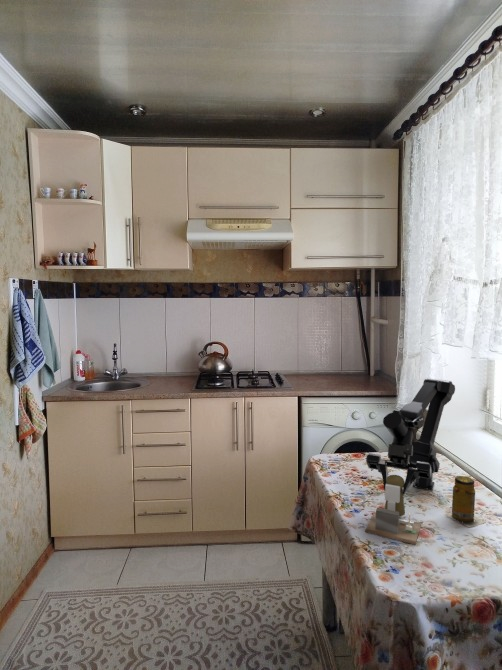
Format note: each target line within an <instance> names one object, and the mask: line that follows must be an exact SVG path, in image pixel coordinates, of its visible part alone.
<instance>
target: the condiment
mask: <svg viewBox="0 0 502 670" xmlns="http://www.w3.org/2000/svg"><path fill="white" fill-rule="evenodd" d="M451 503H452V504H451V512H450V513H445V514H444V515H445V516H446V517H448V518H451V519H452V520H454V521H456V522H458V523H460V524H462V525H463V526H466V527H468V528H473V527H476V526H479V525H482V524H485V523H486V521H484V520H482V519H481V518H478V517H477V516H475V506H476V505H475V503H476V489H475V480H474V479H473V478H471V477H470V476H464V475H457V476H455V478H454V485H453V487H452V501H451Z"/></svg>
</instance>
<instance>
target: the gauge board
mask: <svg viewBox="0 0 502 670" xmlns="http://www.w3.org/2000/svg"><path fill="white" fill-rule="evenodd" d="M399 519H402V518H400V517H399V512H396V511H392V510H387V509H384V508H382V507H378V506H377V507H376V510H375V512H373V514H372V516H371V518H370V519H369V521H368V523H367V525H366V527H365V528H364V532H365V533H367V534H372V535H376V536H380V537H384V538H387V539H392V540H396V541H400V542H404V543H408V544H412V545H416V544H417V542H418V538H419V535H420V531H421V528H422V523H421V522H418V521H414V520H412V521H413V522H414V526H412V525H410V526H412V531H409V530H406V525H407V524H403V523H399ZM403 519H404V518H403ZM404 520H406V519H404Z"/></svg>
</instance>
